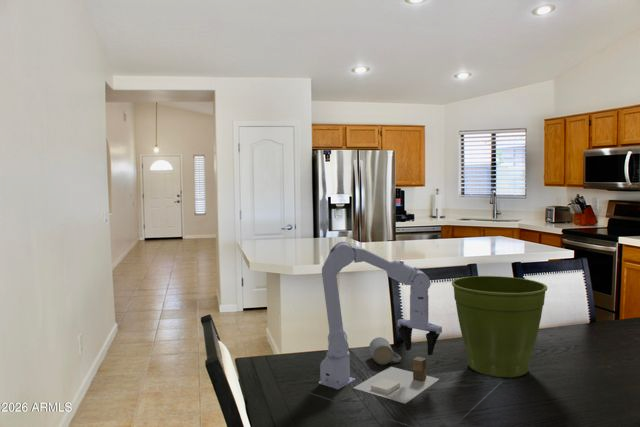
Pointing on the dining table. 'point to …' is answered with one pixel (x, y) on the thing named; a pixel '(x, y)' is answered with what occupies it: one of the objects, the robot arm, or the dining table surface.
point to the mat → (407, 384)
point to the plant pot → (499, 322)
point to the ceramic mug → (382, 351)
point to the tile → (385, 386)
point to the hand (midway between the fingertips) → (419, 352)
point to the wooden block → (419, 369)
